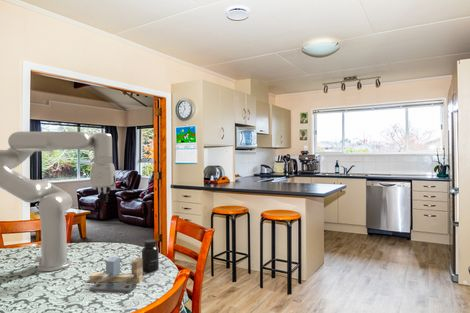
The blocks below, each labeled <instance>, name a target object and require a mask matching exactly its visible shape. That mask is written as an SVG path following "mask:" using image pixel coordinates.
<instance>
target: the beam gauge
mask: <svg viewBox="0 0 470 313" xmlns="http://www.w3.org/2000/svg"><path fill="white" fill-rule="evenodd" d="M130 264H131V273H119V274H117V275H116V276H115V277H106V278H105V279H103V280H102V279H101V278H102V277H104V276H105V275H106V272H93V273H91V274H90V275H89V276H88V277H89V282H102V283H128V284H140V283H141V282H143V280H144V275H143V265H142V257H137V258H135V259H134V260H132V261H131V263H130Z"/></svg>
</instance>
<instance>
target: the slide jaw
mask: <svg viewBox="0 0 470 313" xmlns="http://www.w3.org/2000/svg"><path fill="white" fill-rule="evenodd" d="M105 273H106V275H105V276H104V277H102V278H101V279H102V280H103V279H105V278H106V277H115V276H116V275H117V274H121V257H119V256H113V257H110V258H109V259H107V260H106V261H105Z"/></svg>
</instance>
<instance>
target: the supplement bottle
mask: <svg viewBox="0 0 470 313" xmlns="http://www.w3.org/2000/svg"><path fill="white" fill-rule="evenodd" d="M143 245H144V246H143V248H142V249H141V258H142V265H143V272H144V273H154V272H157V271H158V270H159V268H160V266H159V265H160V264H159V262H160V261H159V260H160V257H159V256H160V254H159V253H160V252H159V251H160V250H159V247H158V246H157V240H156V239H146V240H145V241H144V242H143Z"/></svg>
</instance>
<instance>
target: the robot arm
mask: <svg viewBox="0 0 470 313" xmlns="http://www.w3.org/2000/svg"><path fill="white" fill-rule="evenodd" d="M7 141H8V142H7V144H8V146H9V148H7V149H0V188H1V189H2V190H4V191H6V192H7V193H8V194H11V195H13V196H15V197H16V198H18V199H20V200H21V201H23V202H25V203H28V204H29V203H36V202H39V203H38V213H39V215H38V216H39V218H40V219H39V221H40V239H41V240H40V244H41V246H40V248H41V250H40V252H41V253H40V254H41V255H39V256H38V255H37V256H36V257H35V258H34V262H35V263H38V265H37V267H36V270H37V271H40V272H54V271H59V270H63V269H66V268H68V267H69V266H71V264H72V261H71V260H70V259H68V255H67V254H68V253H67V251H68V248H67V242H68V241H67V222H66V217H65V216H66V215H65V212H68V210H70V209H71V207H72V206H73V198H72V196H71V194H70V193H68V192H67V191H66V190H63V189H61V187H59V186H57V185H54V184H53V183H51V182H49V181H47V180H44V179H30V178H28V177H26V176H24V175H22V174H21V173H19V172H17V171H15V170H13V169H15V168H17V167H19V166H20V165H22V163H24V161H26V160H27V159H29V157H30V156H33V154H34V153H35V152H54V151H57V150H59V151H60V150H75V151H77V150H78V151H79V150H82V151H91V150H93V158H91V162H93V164H92V165H91V169H90V179H89V180H90V181H89V185H90V186H91V189H92V190H94V191H95V190H96V191H97V192H98V194H99V201H100V203H101V204H102V203H103V204H104V203H108V200H109V193H110V191H112V190H115V189H117V188H116V185H117V176H116V175H117V174H116V167H115V164H114V163H113V137H112V134H111V133H106V132H97V133H94V134H93V133H88V132H84V131H16V132H13V133H11V134H10V135H9V137H8V140H7Z"/></svg>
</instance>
